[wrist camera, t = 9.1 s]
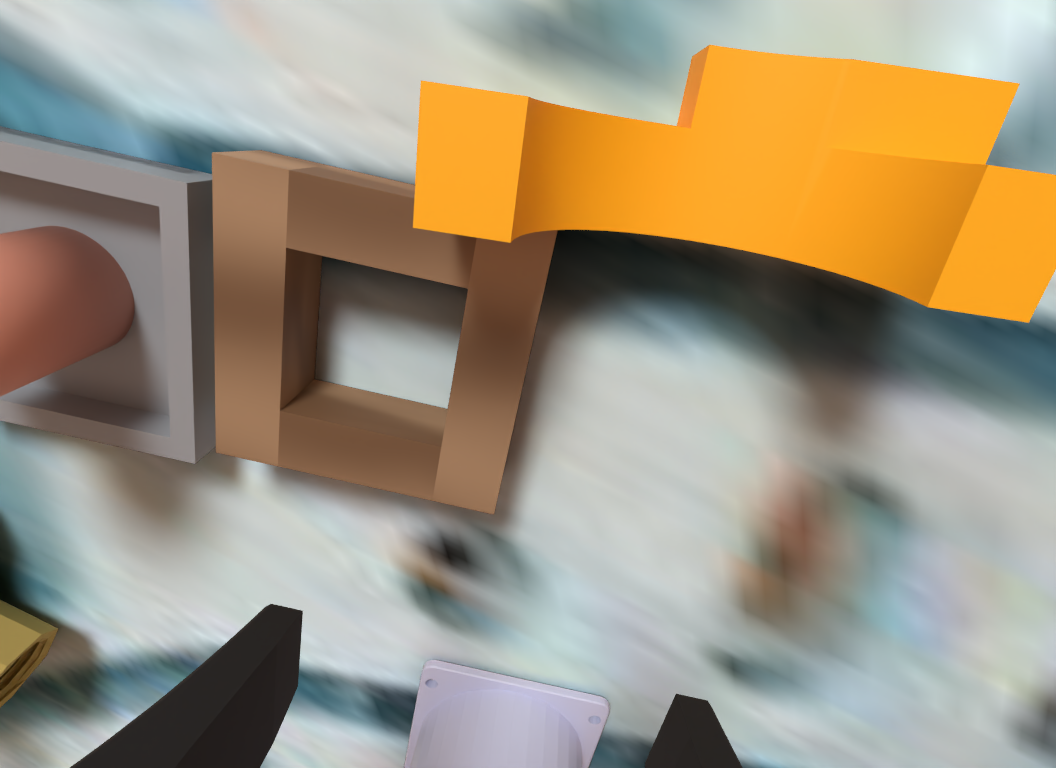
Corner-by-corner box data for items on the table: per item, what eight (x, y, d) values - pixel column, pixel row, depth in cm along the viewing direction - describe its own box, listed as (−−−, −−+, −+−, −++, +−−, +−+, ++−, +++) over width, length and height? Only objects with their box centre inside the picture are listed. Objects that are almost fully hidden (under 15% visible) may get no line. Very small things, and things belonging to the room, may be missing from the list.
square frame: (503, 472, 21) (493, 514, 18) (256, 417, 21) (215, 452, 18) (560, 217, 17) (557, 230, 15) (261, 150, 17) (212, 152, 15)
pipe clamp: (934, 92, 15) (1158, 67, 9) (873, 256, 17) (1028, 322, 11) (485, 27, 16) (427, -38, 10) (469, 195, 17) (412, 227, 11)
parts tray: (228, 435, 21) (195, 463, 19) (-16, 380, 21) (-73, 404, 19) (228, 177, 17) (186, 182, 16) (-67, 111, 17) (-143, 108, 16)
